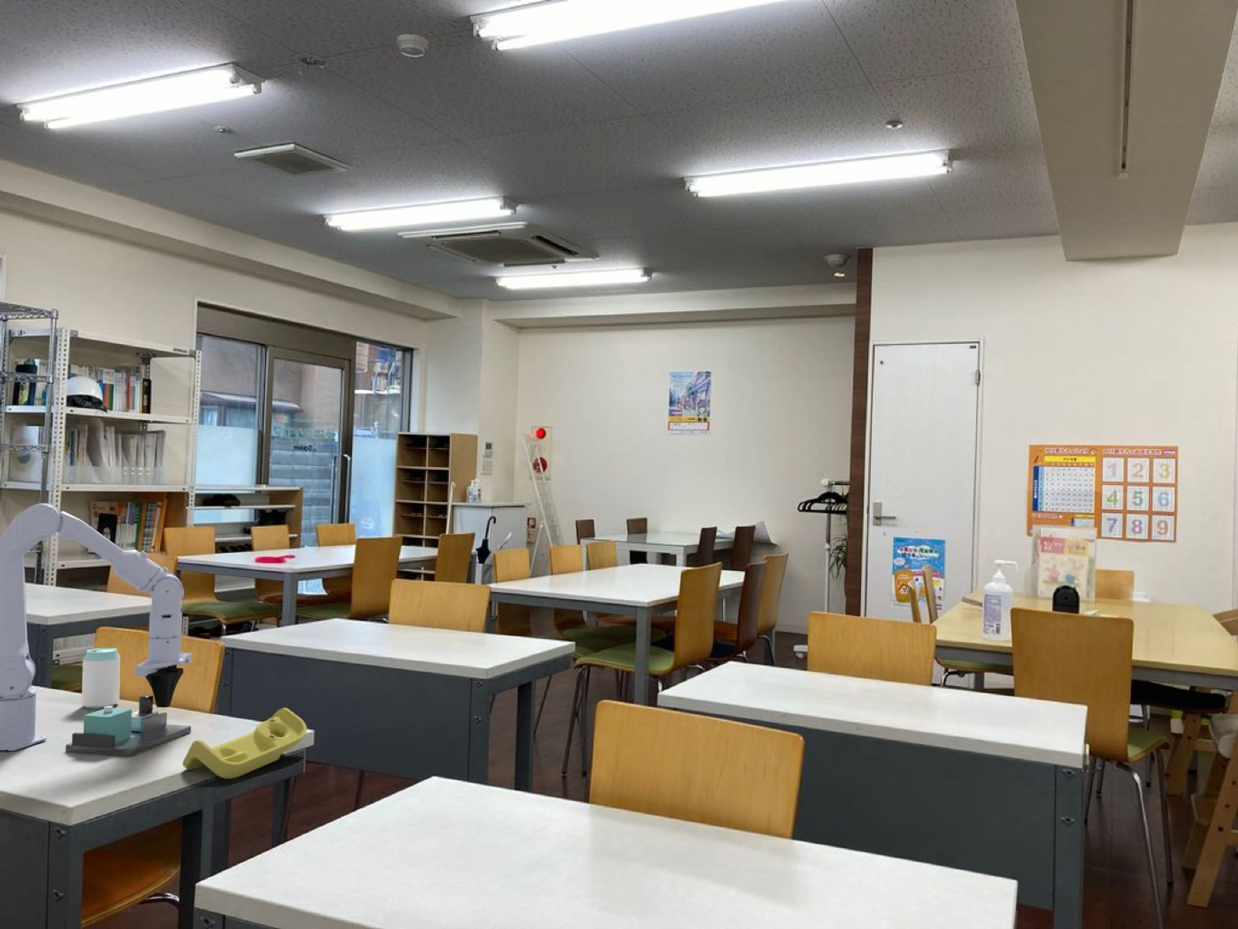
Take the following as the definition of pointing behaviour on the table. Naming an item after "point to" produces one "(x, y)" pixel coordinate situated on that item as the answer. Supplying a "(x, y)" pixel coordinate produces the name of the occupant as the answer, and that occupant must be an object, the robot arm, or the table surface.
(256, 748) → the plastic component
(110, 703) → the can
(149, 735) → the press bed
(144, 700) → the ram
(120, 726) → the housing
